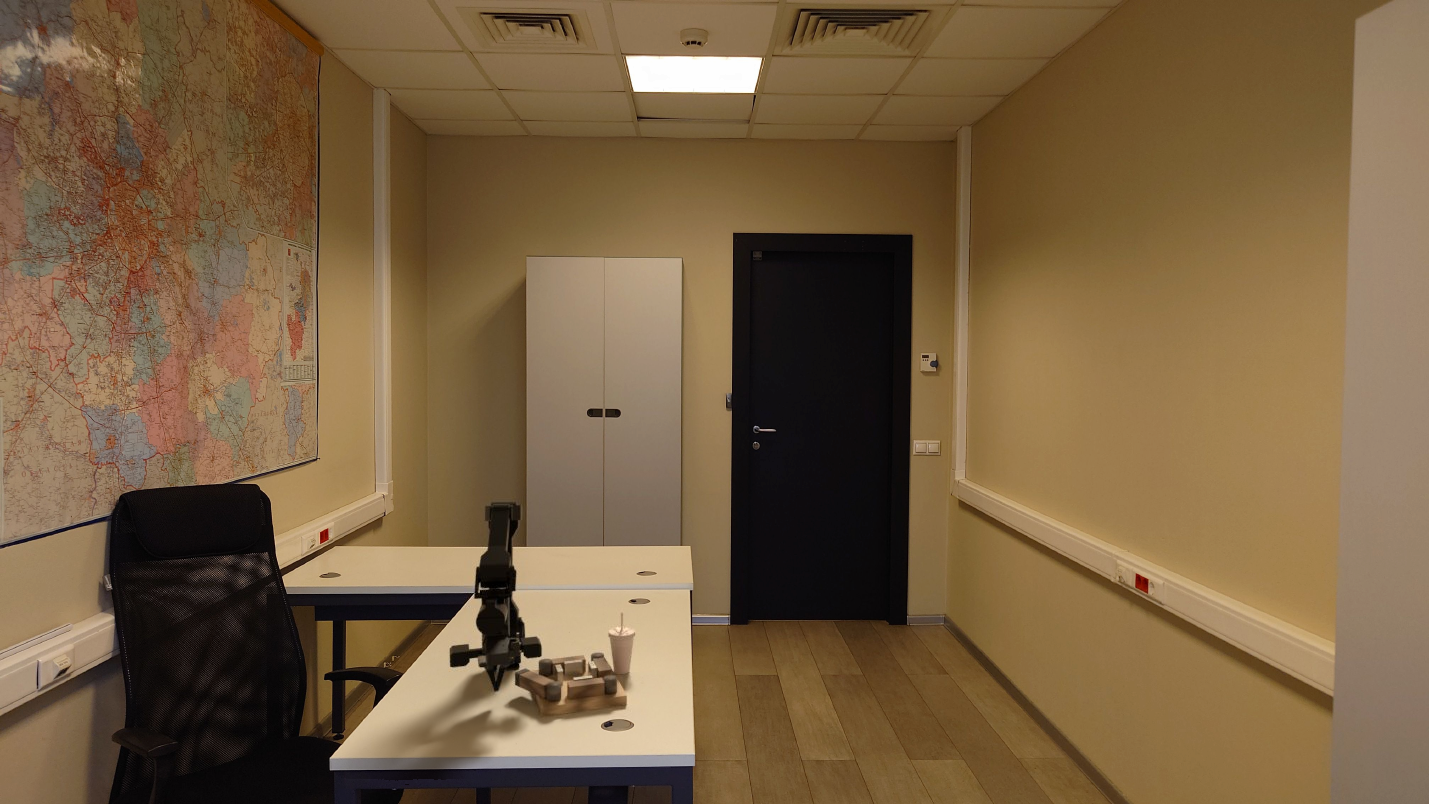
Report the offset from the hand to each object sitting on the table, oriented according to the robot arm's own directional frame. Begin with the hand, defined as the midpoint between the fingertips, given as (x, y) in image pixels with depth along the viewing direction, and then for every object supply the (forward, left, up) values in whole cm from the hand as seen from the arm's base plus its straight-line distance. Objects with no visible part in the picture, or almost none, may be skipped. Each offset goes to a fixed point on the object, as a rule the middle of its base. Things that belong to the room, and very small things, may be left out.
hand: (496, 690), depth 168 cm
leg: (+9, -2, -1) cm, 9 cm away
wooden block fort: (+17, +1, -3) cm, 18 cm away
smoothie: (+29, +9, -3) cm, 31 cm away
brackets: (+17, +1, -1) cm, 18 cm away
